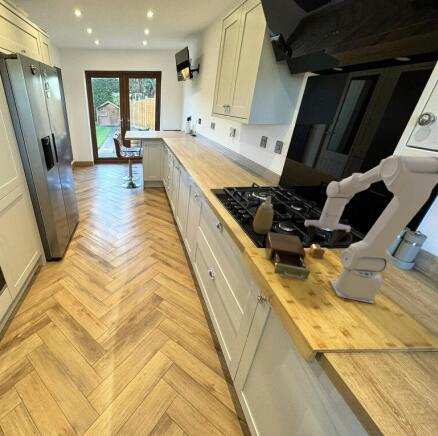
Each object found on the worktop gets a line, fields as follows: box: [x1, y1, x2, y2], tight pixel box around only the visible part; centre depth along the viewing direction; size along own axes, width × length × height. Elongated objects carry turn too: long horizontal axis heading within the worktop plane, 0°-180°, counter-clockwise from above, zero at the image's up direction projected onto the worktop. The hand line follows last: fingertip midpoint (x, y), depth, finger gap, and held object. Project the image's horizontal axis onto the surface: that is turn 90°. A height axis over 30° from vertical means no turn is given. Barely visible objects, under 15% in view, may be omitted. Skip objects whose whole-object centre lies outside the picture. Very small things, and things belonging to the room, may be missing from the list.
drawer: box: [273, 250, 311, 282], centre depth 85 cm, size 17×10×4 cm, turn 161°
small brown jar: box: [309, 243, 326, 260], centre depth 96 cm, size 4×5×4 cm
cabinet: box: [264, 231, 307, 262], centre depth 96 cm, size 14×12×6 cm
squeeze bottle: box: [252, 195, 275, 235], centre depth 109 cm, size 8×8×18 cm
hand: (319, 243), depth 94 cm, fingers open, 7 cm apart
